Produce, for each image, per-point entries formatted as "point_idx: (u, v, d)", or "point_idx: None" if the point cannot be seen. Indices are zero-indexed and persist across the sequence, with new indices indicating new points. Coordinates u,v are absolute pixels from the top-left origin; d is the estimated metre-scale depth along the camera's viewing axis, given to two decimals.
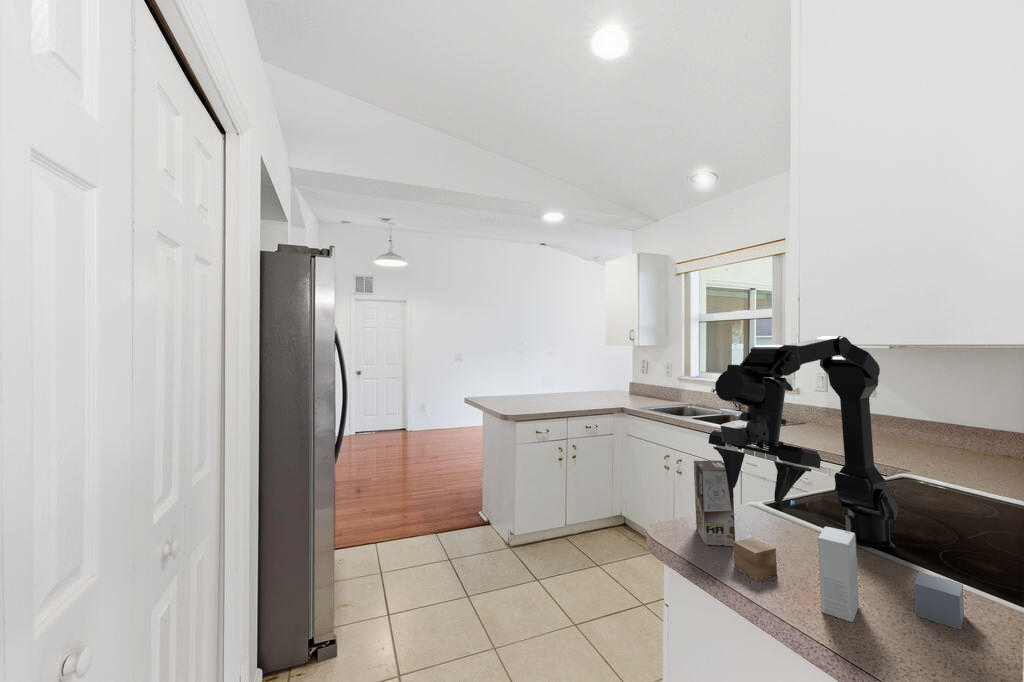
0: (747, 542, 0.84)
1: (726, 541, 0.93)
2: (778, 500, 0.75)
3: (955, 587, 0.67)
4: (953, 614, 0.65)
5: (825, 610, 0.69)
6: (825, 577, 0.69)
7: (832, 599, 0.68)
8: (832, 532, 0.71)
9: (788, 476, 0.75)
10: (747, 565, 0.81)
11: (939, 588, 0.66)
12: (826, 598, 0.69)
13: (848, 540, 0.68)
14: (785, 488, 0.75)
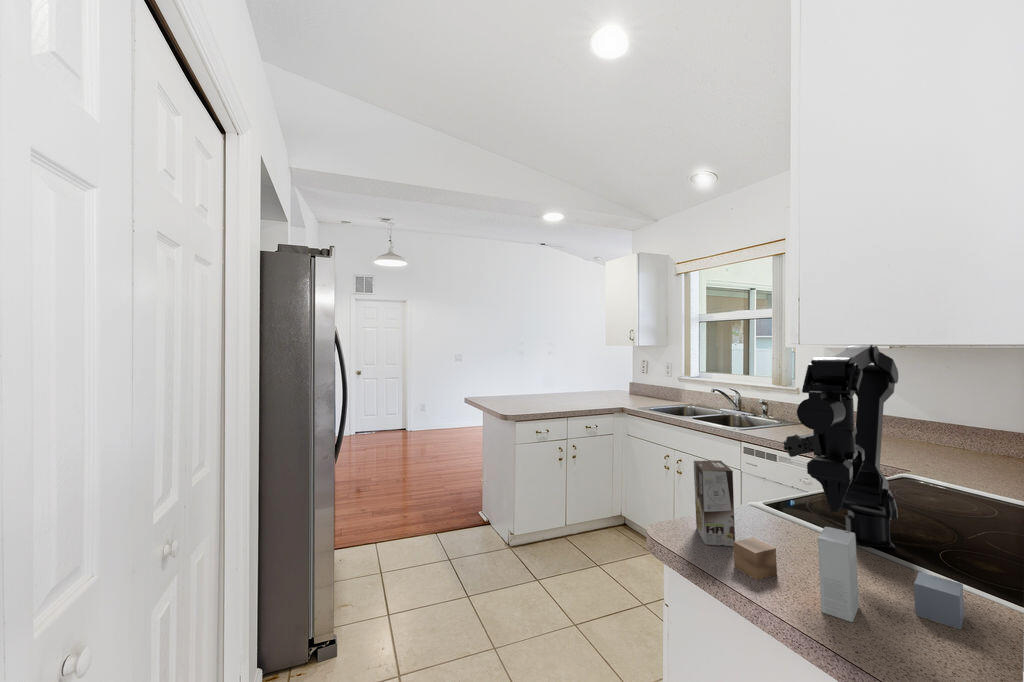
0: (747, 542, 0.84)
1: (726, 541, 0.93)
2: (832, 509, 0.79)
3: (955, 587, 0.67)
4: (953, 614, 0.65)
5: (825, 610, 0.69)
6: (825, 577, 0.69)
7: (832, 599, 0.68)
8: (832, 532, 0.71)
9: (833, 487, 0.78)
10: (747, 565, 0.81)
11: (939, 588, 0.66)
12: (826, 598, 0.69)
13: (848, 540, 0.68)
14: (833, 498, 0.79)
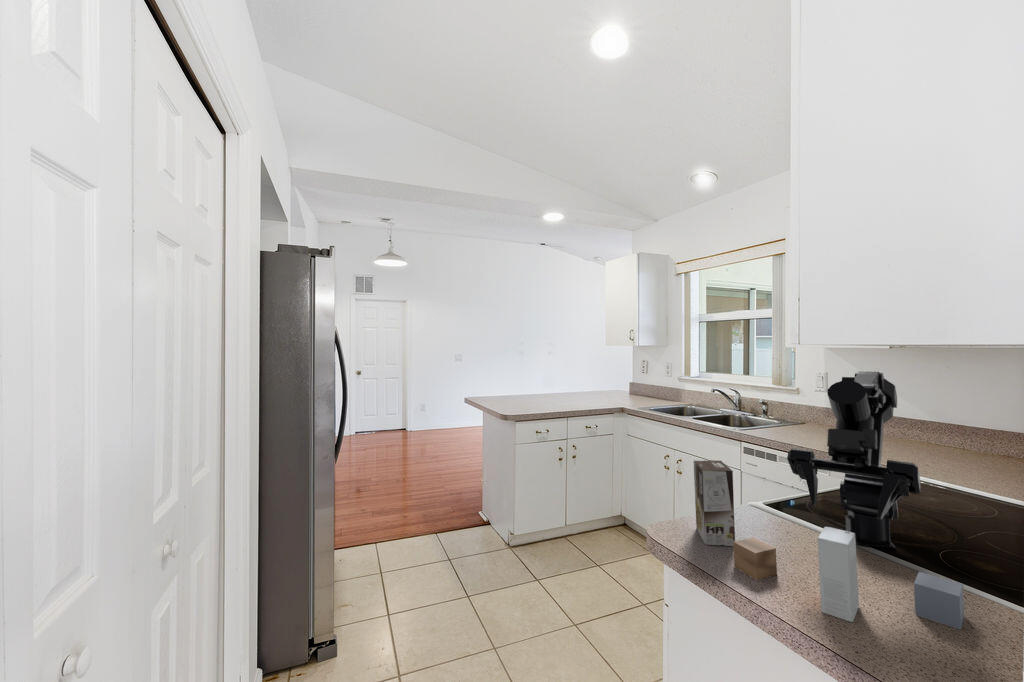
0: (747, 542, 0.84)
1: (726, 541, 0.93)
2: (881, 515, 0.72)
3: (955, 587, 0.67)
4: (953, 614, 0.65)
5: (825, 610, 0.69)
6: (825, 577, 0.69)
7: (832, 599, 0.68)
8: (832, 532, 0.71)
9: None
10: (747, 565, 0.81)
11: (939, 588, 0.66)
12: (826, 598, 0.69)
13: (848, 540, 0.68)
14: (888, 505, 0.73)
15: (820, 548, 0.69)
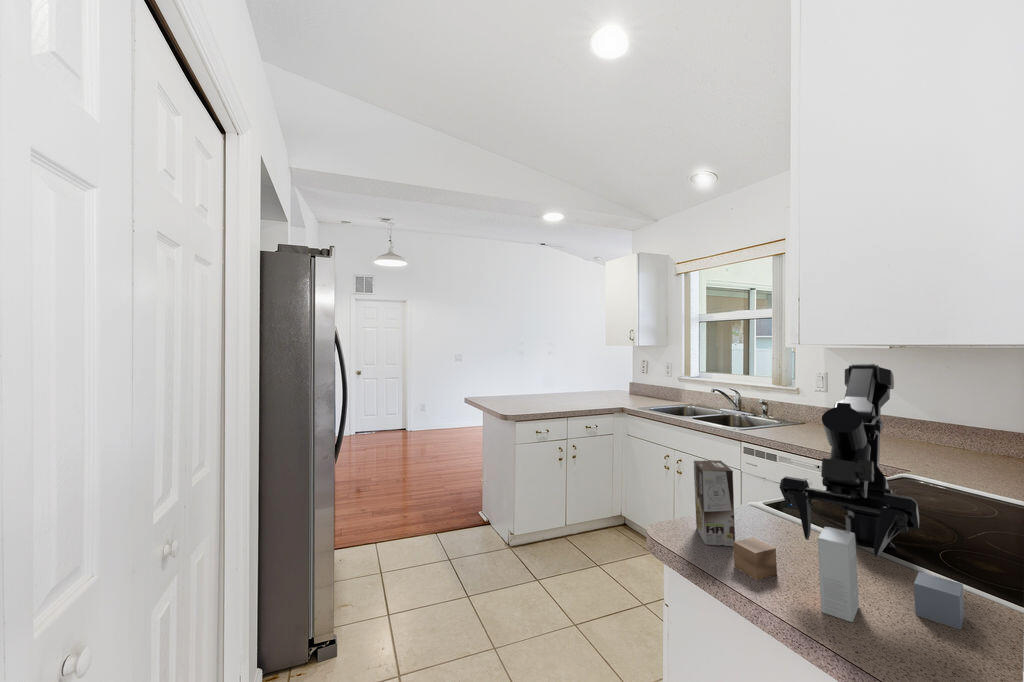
0: (747, 542, 0.84)
1: (726, 541, 0.93)
2: (878, 553, 0.68)
3: (955, 587, 0.67)
4: (953, 614, 0.65)
5: (825, 610, 0.69)
6: (825, 577, 0.69)
7: (832, 599, 0.68)
8: (832, 532, 0.71)
9: None
10: (747, 565, 0.81)
11: (939, 588, 0.66)
12: (826, 598, 0.69)
13: (848, 540, 0.68)
14: (885, 541, 0.69)
15: (820, 548, 0.69)
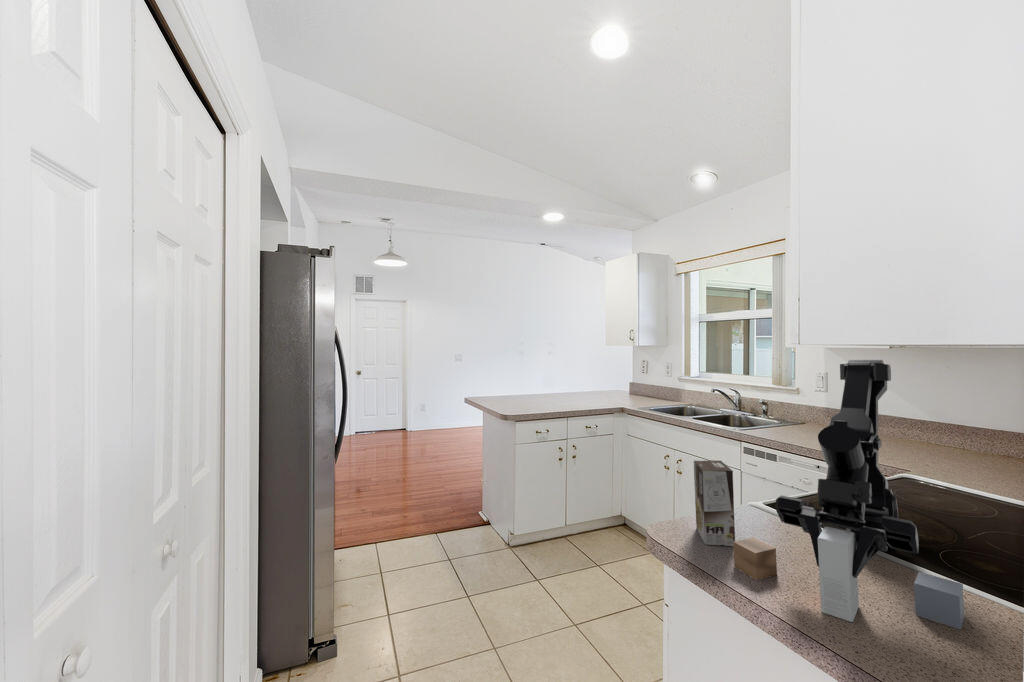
0: (747, 542, 0.84)
1: (726, 541, 0.93)
2: (856, 573, 0.67)
3: (955, 587, 0.67)
4: (953, 614, 0.65)
5: (825, 609, 0.69)
6: (825, 577, 0.69)
7: (832, 599, 0.68)
8: (832, 532, 0.71)
9: None
10: (747, 565, 0.81)
11: (939, 588, 0.66)
12: (826, 598, 0.69)
13: (848, 540, 0.68)
14: (863, 562, 0.68)
15: (820, 548, 0.69)
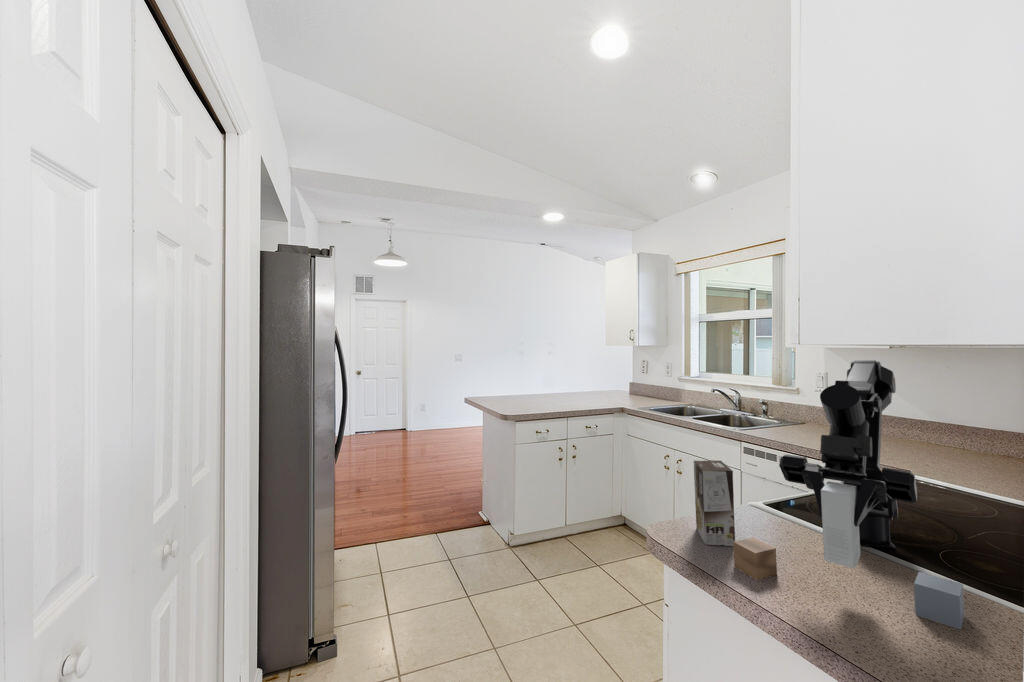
0: (747, 542, 0.84)
1: (726, 541, 0.93)
2: (858, 522, 0.71)
3: (955, 587, 0.67)
4: (953, 614, 0.65)
5: (828, 558, 0.72)
6: (828, 527, 0.72)
7: (835, 548, 0.71)
8: (835, 485, 0.74)
9: None
10: (747, 565, 0.81)
11: (939, 588, 0.66)
12: (829, 547, 0.72)
13: (850, 491, 0.71)
14: (864, 511, 0.71)
15: (823, 499, 0.73)
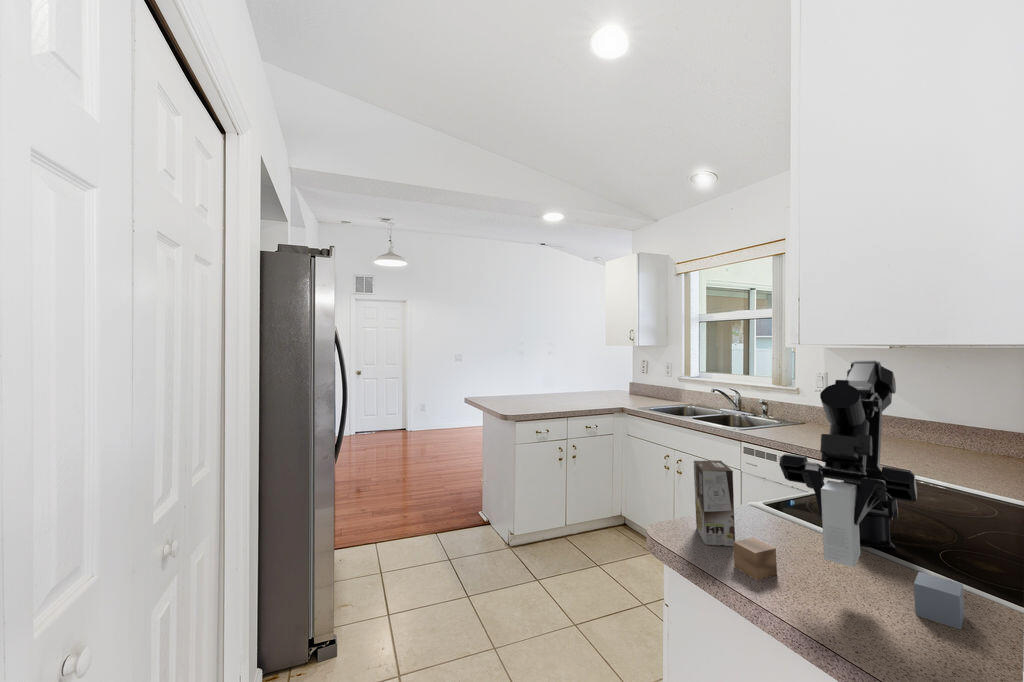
0: (747, 542, 0.84)
1: (726, 541, 0.93)
2: (858, 521, 0.71)
3: (955, 587, 0.67)
4: (953, 614, 0.65)
5: (828, 557, 0.72)
6: (828, 525, 0.72)
7: (835, 547, 0.72)
8: (835, 484, 0.74)
9: None
10: (747, 565, 0.81)
11: (939, 588, 0.66)
12: (829, 546, 0.72)
13: (850, 490, 0.71)
14: (864, 510, 0.72)
15: (823, 498, 0.73)
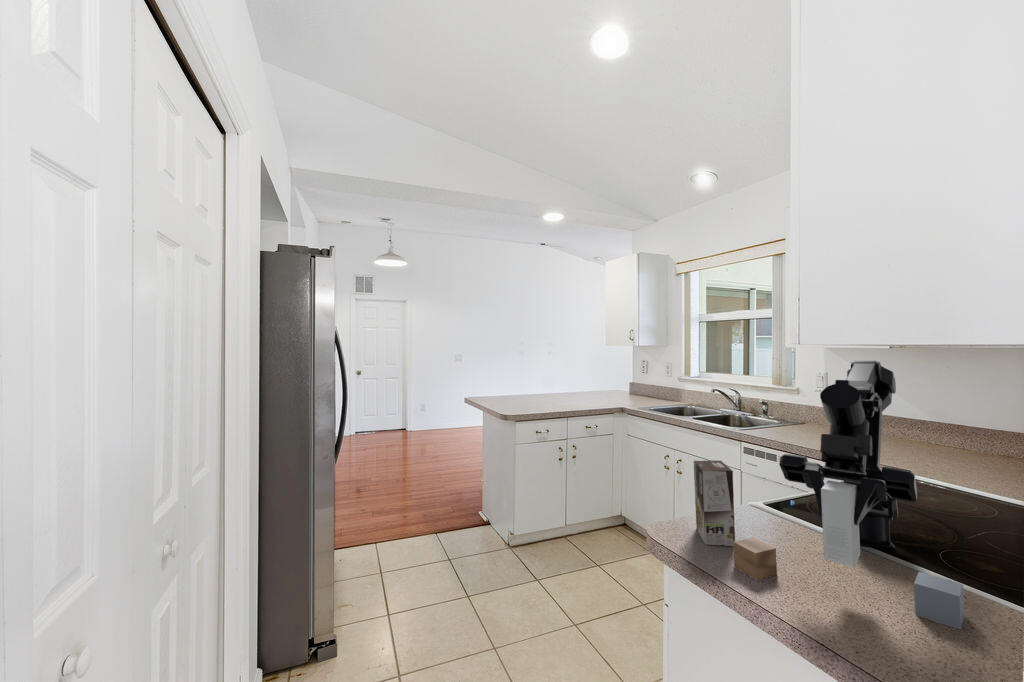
0: (747, 542, 0.84)
1: (726, 541, 0.93)
2: (858, 521, 0.71)
3: (955, 587, 0.67)
4: (953, 614, 0.65)
5: (828, 557, 0.72)
6: (828, 525, 0.72)
7: (835, 547, 0.72)
8: (835, 484, 0.74)
9: None
10: (747, 565, 0.81)
11: (939, 588, 0.66)
12: (829, 546, 0.72)
13: (850, 490, 0.71)
14: (864, 510, 0.72)
15: (823, 498, 0.73)
